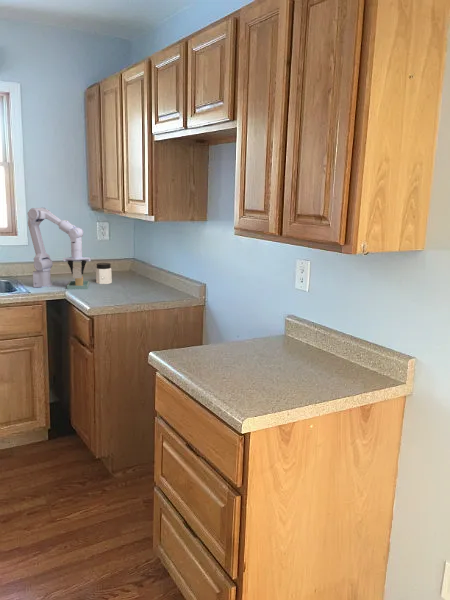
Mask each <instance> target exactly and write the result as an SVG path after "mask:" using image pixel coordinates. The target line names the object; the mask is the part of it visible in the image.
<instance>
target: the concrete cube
mask: <svg viewBox="0 0 450 600" xmlns="http://www.w3.org/2000/svg"><path fill="white" fill-rule="evenodd" d="M82 276H83V274H82V266H73V274H72V279H75V278H82Z"/></svg>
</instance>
